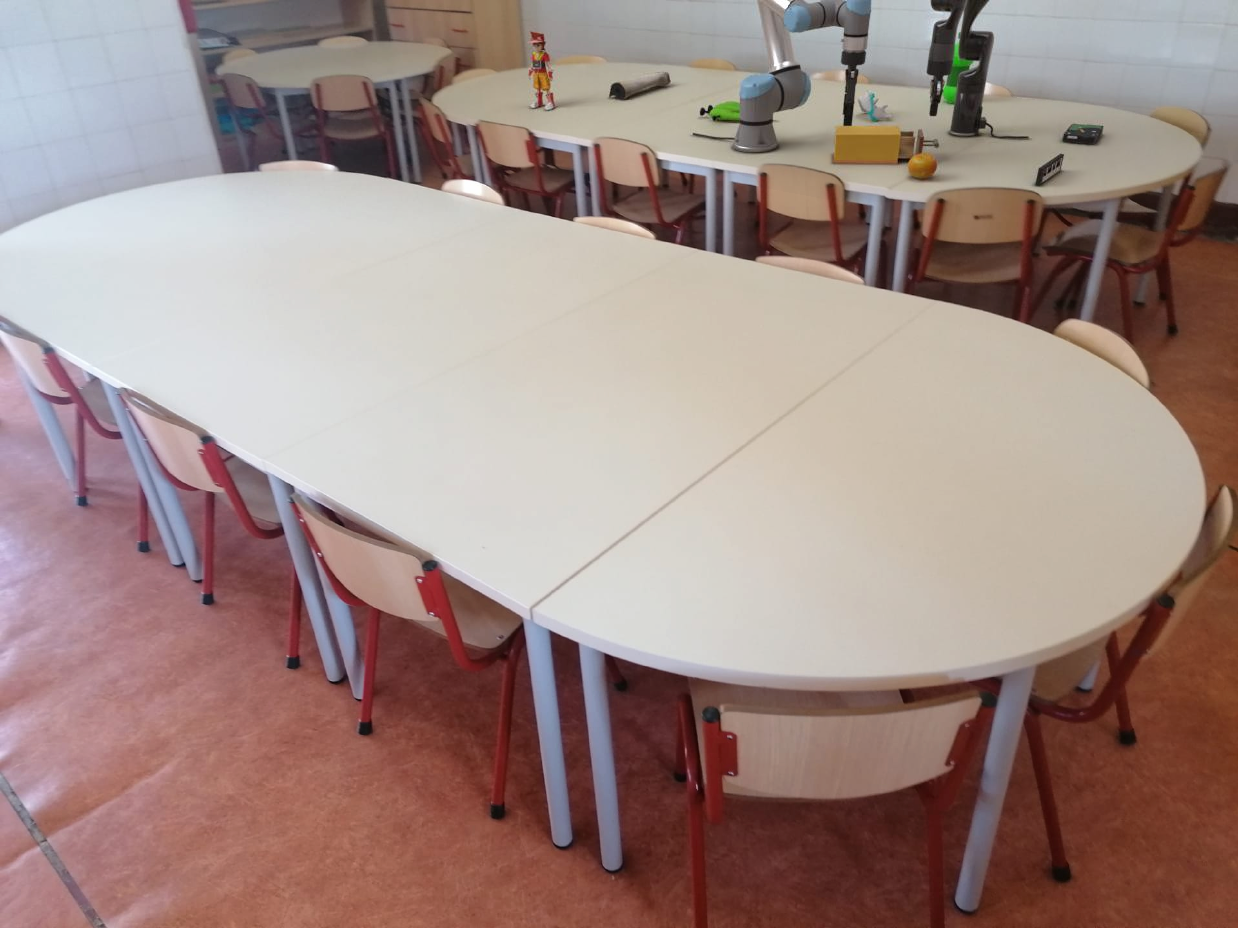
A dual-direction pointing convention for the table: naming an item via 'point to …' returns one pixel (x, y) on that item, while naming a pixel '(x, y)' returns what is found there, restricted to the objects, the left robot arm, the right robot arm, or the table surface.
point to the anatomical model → (872, 107)
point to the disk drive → (1083, 133)
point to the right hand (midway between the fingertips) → (932, 115)
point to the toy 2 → (723, 111)
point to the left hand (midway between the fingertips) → (847, 120)
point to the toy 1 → (541, 71)
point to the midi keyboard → (1049, 169)
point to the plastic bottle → (955, 76)
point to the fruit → (922, 165)
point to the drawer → (909, 141)
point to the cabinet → (867, 144)
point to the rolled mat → (638, 84)
